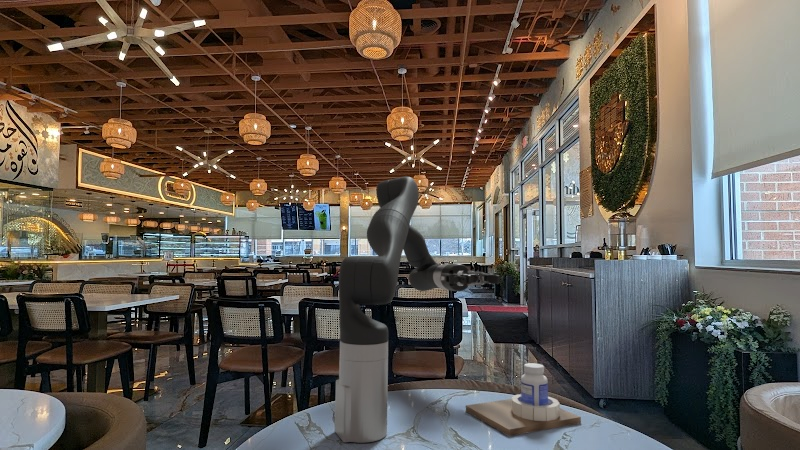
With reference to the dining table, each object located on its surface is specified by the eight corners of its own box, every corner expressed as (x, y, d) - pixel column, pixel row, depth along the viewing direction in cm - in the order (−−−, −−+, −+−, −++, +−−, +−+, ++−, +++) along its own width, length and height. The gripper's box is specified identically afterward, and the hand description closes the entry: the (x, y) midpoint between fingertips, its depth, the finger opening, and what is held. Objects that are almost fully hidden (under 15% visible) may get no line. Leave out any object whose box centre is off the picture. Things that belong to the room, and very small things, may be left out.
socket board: (509, 436, 84) (509, 429, 84) (465, 411, 97) (465, 405, 97) (580, 423, 91) (580, 416, 91) (531, 401, 105) (531, 396, 105)
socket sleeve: (532, 423, 87) (532, 410, 87) (502, 408, 96) (502, 396, 96) (569, 417, 91) (569, 404, 91) (537, 403, 99) (537, 391, 100)
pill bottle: (545, 408, 96) (544, 362, 97) (551, 417, 90) (550, 368, 91) (519, 407, 96) (518, 361, 97) (523, 416, 91) (523, 367, 92)
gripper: (429, 263, 124) (460, 264, 109) (472, 263, 130) (507, 264, 115) (429, 290, 123) (460, 295, 109) (472, 290, 129) (507, 294, 114)
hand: (484, 279), depth 112 cm, fingers open, 8 cm apart
